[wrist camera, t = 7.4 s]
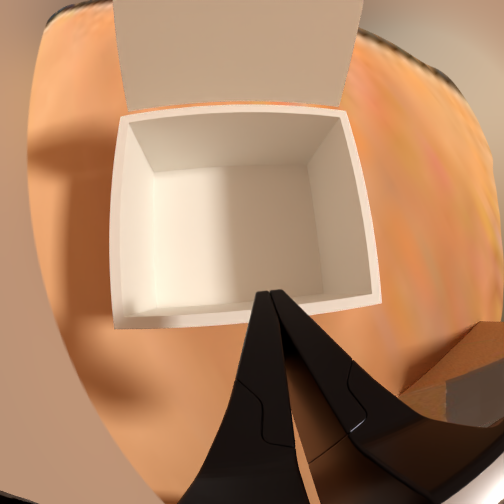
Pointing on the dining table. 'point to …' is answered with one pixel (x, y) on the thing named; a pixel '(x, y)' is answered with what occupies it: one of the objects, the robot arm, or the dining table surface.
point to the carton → (237, 215)
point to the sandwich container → (464, 380)
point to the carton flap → (234, 50)
